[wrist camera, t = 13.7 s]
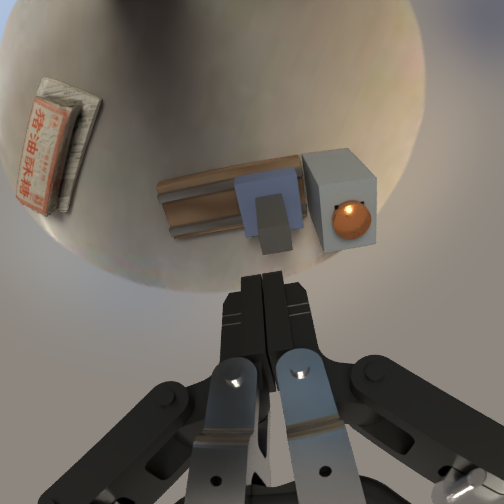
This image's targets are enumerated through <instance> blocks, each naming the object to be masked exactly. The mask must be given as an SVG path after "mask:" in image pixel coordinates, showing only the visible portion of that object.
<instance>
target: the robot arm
mask: <svg viewBox="0 0 504 504" xmlns="http://www.w3.org/2000/svg"><path fill="white" fill-rule="evenodd" d="M262 278H263V280H262ZM222 315H223V318H222V331H221V350H220V363H219V364H218V365H217V366H216V367H215V369H214V371H213V373H212V375H211V376H210V377H209V378H207V379H205V380H204V381H201V382H199V383H196V384H193V385H191V386H188V387H184V386H183V385H182V384H180V383H178V382H174V381H168V382H164V383H161V384H159V385H157V386H156V387H154V388H153V389H152V390H151V391H150V392H149V393H148V394H147V395H146V396H145V397H144V398H143V399H142V400H141V401H140V402H139V403H138V404H137V405H136V406H135V407H134V408H133V409H132V410H131V411H130V412H129V413H128V414H127V415H126V416H125V417H124V418H123V419H122V420H120V421H119V422H118V423H117V424H116V425H115V426H114V427H113V428H112V429H111V430H110V431H109V432H108V433H107V434H106V435H105V436H104V437H103V438H102V439H101V440H100V441H99V442H98V443H97V444H96V445H95V446H93V447H92V448H91V449H90V450H89V451H88V452H87V453H86V454H85V455H84V456H83V457H82V458H81V459H80V460H79V461H78V462H77V463H75V464H74V465H73V466H72V467H71V468H70V469H69V470H68V471H67V472H66V473H65V474H64V475H63V476H62V477H60V478H59V479H58V480H57V481H56V482H55V483H54V484H53V485H52V486H51V487H50V488H49V489H48V490H46V491H45V492H44V493H43V494H42V495H41V497H40V498H39V500H38V504H153V503H155V501H157V499H159V497H161V496H162V495H163V494H164V493H165V492H166V491H167V490H168V489H169V488H170V487H171V486H172V485H173V484H174V483H175V481H177V480H178V478H179V477H180V476H181V475H182V474H183V473H184V472H185V471H186V470H187V469H188V468H189V467H190V468H189V474H188V481H187V488H186V495H185V497H183V498H181V499H180V500H179V501H177V502H176V503H175V504H411V503H410V502H408V501H407V500H405V499H404V498H402V497H401V496H400V495H399V494H397V493H396V492H394V491H393V490H392V489H390V488H389V487H388V486H386V485H385V484H383V483H381V482H379V481H377V480H375V479H372V478H369V477H365V476H360V475H359V474H358V470H357V466H356V463H355V459H354V455H353V452H352V448H351V445H350V441H349V438H348V434H347V431H346V427H345V425H344V424H349V425H350V426H351V427H352V428H353V429H355V430H356V431H357V432H359V433H360V434H362V435H363V436H364V437H366V438H367V439H369V440H370V441H371V442H373V443H374V444H376V445H377V446H378V447H380V448H381V449H383V450H384V451H386V452H387V453H389V454H390V455H392V456H393V457H395V458H396V459H397V460H399V461H400V462H402V463H404V464H405V465H407V466H408V467H410V468H411V469H413V470H414V471H416V472H417V473H419V474H420V475H422V476H423V477H425V478H427V479H428V480H430V481H432V482H433V483H435V485H434V487H433V490H432V502H433V504H504V426H503V425H501V424H499V423H497V422H496V421H494V420H492V419H490V418H489V417H487V416H485V415H483V414H482V413H480V412H478V411H476V410H475V409H473V408H471V407H470V406H468V405H466V404H465V403H463V402H461V401H459V400H458V399H456V398H454V397H453V396H451V395H449V394H447V393H446V392H444V391H442V390H440V389H439V388H437V387H436V386H434V385H432V384H430V383H429V382H427V381H425V380H424V379H422V378H420V377H419V376H417V375H415V374H414V373H412V372H410V371H409V370H407V369H405V368H404V367H402V366H400V365H399V364H397V363H395V362H394V361H392V360H390V359H389V358H387V357H384V356H381V355H369V356H365V357H363V358H361V359H360V360H358V361H357V362H356V363H355V364H349V363H339V362H335V361H332V360H330V359H328V358H326V357H325V356H324V355H323V354H322V353H321V352H320V350H319V347H318V344H317V339H316V334H315V329H314V325H313V320H312V316H311V311H310V307H309V302H308V297H307V293H306V290H305V289H304V288H303V287H302V286H301V285H300V283H298V282H296V283H290V284H284V281H283V275H282V271H276V272H270V273H264V274H262V276H261V274H258V275H252V276H246V277H241V291H240V292H233V293H229V294H228V296H227V298H226V300H225V301H224V303H223V314H222ZM275 381H276V384H275ZM276 385H277V389H278V391H280V396H281V401H282V407H283V412H284V418H285V424H286V429H287V438H288V445H289V450H290V455H291V462H292V467H293V472H294V478H295V481H293V482H290V483H287V484H284V485H281V486H278V487H271V471H270V465H269V444H270V397H269V392H275V391H276Z"/></svg>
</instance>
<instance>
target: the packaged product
mask: <svg viewBox="0 0 504 504" xmlns="http://www.w3.org/2000/svg"><path fill="white" fill-rule="evenodd" d="M101 101H102V99H101V98H99V97H97V96H95V95H93V94H90V93H87V92H85V91H82V90H80V89H77V88H75V87H73V86H70V85H68V84H65V83H63V82H60V81H58V80H54V79H50V78H46V77H45V78H42V79H41V83H40V87H39V89H38V92H37V96H36V97H35V100H34V103H33V106H32V110H31V114H30V119H29V122H28V127H27V132H26V136H25V141H24V146H23V151H22V157H21V162H20V168H19V174H18V181H17V189H16V198H17V199H18V200H19V201H20V203H21V204H22V205H26V206H27V207H30V208H31V209H33V210H34V211H36V212H38V213H41V214H43V215H44V216H46V217H47V216H48V215H51V212H53V211H55V210H56V209H57V210H59V211H60V212H61V213H63V212H67V211H68V209H69V206H70V201H71V197H72V192H73V189H74V186H75V183H76V180H77V177H78V173H79V170H80V166H81V163H82V160H83V157H84V154H85V151H86V147H87V144H88V141H89V138H90V135H91V132H92V129H93V125H94V122H95V119H96V116H97V113H98V110H99V107H100V104H101Z"/></svg>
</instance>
